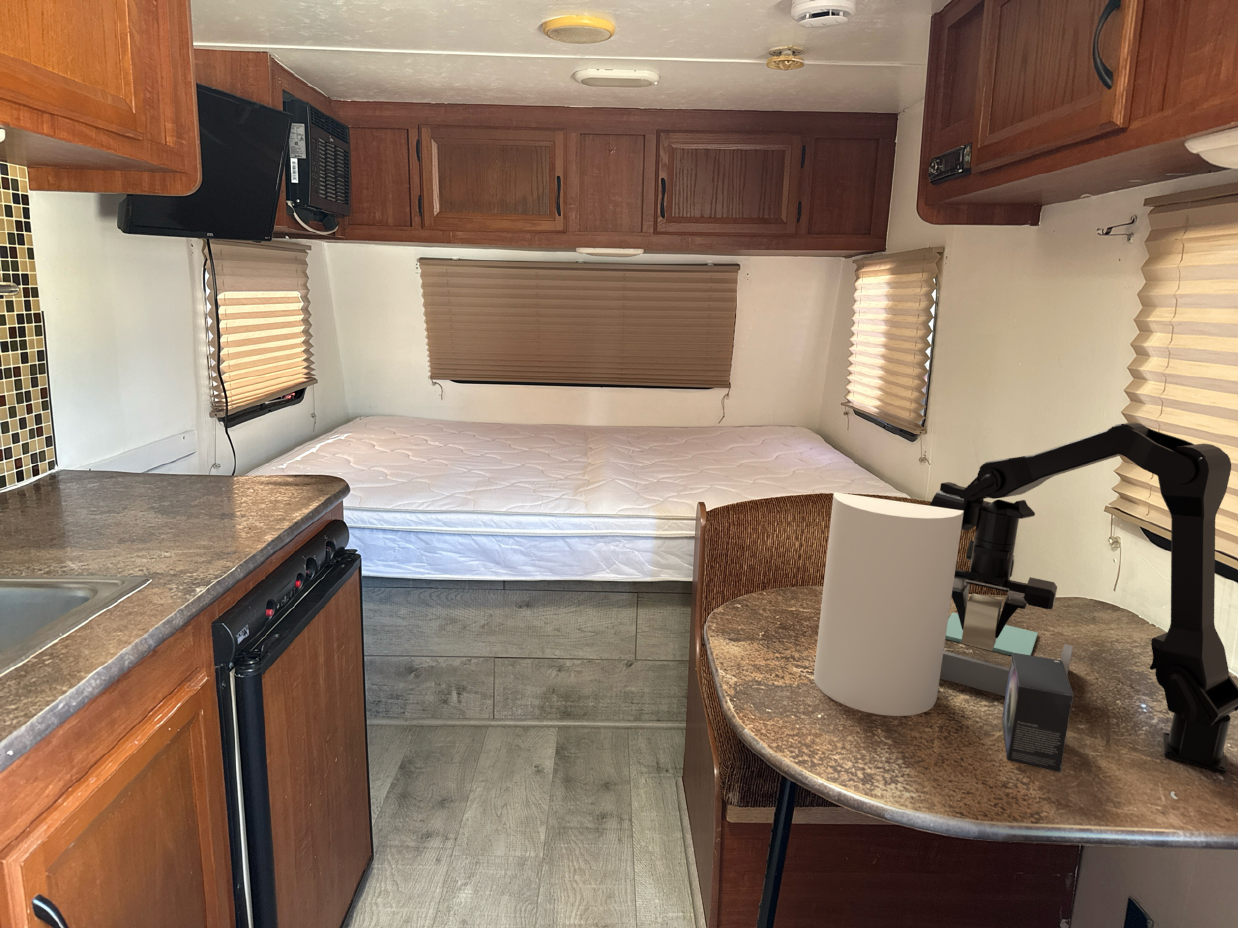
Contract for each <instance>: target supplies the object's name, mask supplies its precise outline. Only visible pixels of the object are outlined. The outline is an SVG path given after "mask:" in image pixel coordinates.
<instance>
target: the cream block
mask: <svg viewBox="0 0 1238 928" xmlns="http://www.w3.org/2000/svg"><path fill="white" fill-rule="evenodd" d="M1003 601H1004V600H1003V599H998V598H994V597H989V596H985V595H981V594H977V593H972V594H971V595H970V597H968V602H967V608H966V614H965V621H964V628H963V634H962V641H961V643H960V644H963V645H967V646H970V647H974V648H978V649H982V650H986V651H990V652H993V651H992V650H993V647H994V645H995V643H996V639H997V638H995V634H996V628H997V625H998V622H999V619H1000V615H1001V612H1002V609H1003Z"/></svg>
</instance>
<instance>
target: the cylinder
mask: <svg viewBox="0 0 1238 928" xmlns="http://www.w3.org/2000/svg"><path fill="white" fill-rule="evenodd" d="M831 505H832V507H831V515H830V523H829V525H830V526H829V533H828V543H827V550H826V562H825V569H824V570H825V571H824V577H823V578H824V580H823V586H822V587H823V588H822V597H821V607H820V616H819V625H818V636H817V644H816V653H815V662H814V670H813V680H814V683H815V685H816V687H817V688H818V689H819V690H820V691H821V692H822V693H823V694H825V695H826V696H828V697H829V698H830V699H832V700H833V701H835V702H837V703H839V704H842V705H844V706H846V707H849V708H851V709H854V710H855V709H856V710H858V711H862V712H865V713H870V714H875V715H881V716H892V717H894V716H895V717H904V716H905V717H907V716H914V715H915V716H916V715H918V714H922V713H925V712H927V711H929V710H930V709H932V708H933V707H934V706H935V704H936V703H937V698H938V693H939V685H940V680H941V678H940V672H941V665H942V658H943V651H945V643H946V639H945V638H946V631H947V624H948V619H949V617H950V609H951V604H952V597H951V596H952V589H953V582H954V575H955V569H957V568H956V567H957V561H958V553H959V549H960V548H959V546H960V539H961V534H962V533H961V532H962V530H961V527H962V520H963V513H964V511H962V510H955V509H948V508H941V507H934V506H929V505H925V504H920V503H919V504H918V503H913V502H906V501H898V500H892V499H885V498H878V497H871V496H864V495H857V494H856V495H855V494H851V493H844V492H835V491H834V493H833V497H832V504H831Z"/></svg>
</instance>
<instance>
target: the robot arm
mask: <svg viewBox="0 0 1238 928" xmlns="http://www.w3.org/2000/svg"><path fill="white" fill-rule="evenodd" d="M1121 456H1123V457H1125V458H1126V459H1128V461H1129V460H1130V461H1131V462H1132V463H1134V464H1135V465H1136V466H1138V467H1139V468H1141V469H1143V470H1145V471H1147V472H1149V473H1151V474H1153V475H1155V476H1157V480H1158V486H1159V492H1160V494H1161V497H1162V500H1163V501H1164V504H1165V506H1166V508H1167V510H1168V512H1169V514H1170V521H1171V525H1170V527H1171V529H1170V531H1171V533H1170V537H1171V538H1170V539H1171V541H1170V542H1171V543H1170V544H1171V545H1170V557H1171V559H1170V625H1169V628H1168V630H1167V632H1164V633H1161V634H1159V635H1157V636H1155V637H1152V638H1151V642H1150V643H1151V644H1150V645H1151V652H1152V662H1151V665H1150V666H1149V669H1150V670H1151V671H1154V670H1155V678H1156V682H1157V684H1158V686H1160V687H1161V688H1162V689H1163V690H1164V691H1163V692H1164V696H1165V701H1166V706H1167V710H1168V711H1169V712H1170V713H1173V717H1172V720H1171V721H1172V722H1171V724H1170V725H1171V726H1170V729H1169V730H1170V731H1169V732H1167V731H1166V732H1163V734H1162V745H1163V755H1164V757H1167V758H1170V759H1172V760H1176V761H1180V762H1184V763H1187V764H1190V765H1194V766H1197V767H1200V768H1204V769H1208V770H1211V771H1215V772H1218V773H1221V774H1227V772H1228V767H1227V766H1228V765H1227V762H1226V756H1225V752H1224V749H1225V746H1226V740H1227V738H1228V737H1227V736H1228V733H1229V727H1230V722H1231V719H1232V718H1231V716H1230V714H1232V713H1234V712H1237V711H1238V685H1237V684H1236V682H1235V681H1234V680H1233V679H1232V677H1231V676H1230V671H1229V666H1228V660H1227V655H1226V650H1225V646H1224V644H1223V642H1222V639H1221V638H1220V635H1219V633H1218V631H1217V630H1216V626H1215V597H1216V596H1215V587H1216V584H1215V581H1216V580H1215V576H1216V575H1215V574H1216V573H1215V572H1216V571H1215V569H1216V518H1217V513H1218V511H1219V509H1220V507H1221V505H1222V502H1223V500H1224V497H1225V495H1226V493H1227V490H1228V487H1229V486H1228V484H1229V481H1230V476H1231V471H1232V462H1231V458H1230V457H1229V455H1228V454H1227V453H1226V452H1225V451H1224V450H1222V448H1220V447H1219V446H1216V445H1215V444H1211V443H1210V444H1209V443H1205V442H1203V443H1198V444H1195V443H1193V442H1190V441H1189V440H1186V439H1184V438H1183V439H1182V438H1179V437H1176V436H1173V435H1170V434H1168V433H1164V432H1161V431H1157V430H1154V429H1152V428H1149V427H1147V426H1146V425H1144V424H1142V423H1139V422H1127V423H1119V424H1114V425H1113V426H1111V427H1110V428H1108V429H1105V430H1103V431H1099V432H1097V433H1093V434H1090V435H1087V436H1085V437H1082V438H1079V439H1076V440H1073V441H1070V442H1068V443H1064V444H1061V445H1058V446H1056V447H1055V446H1054V447H1053V448H1049V449H1046V450H1043V451H1041V452H1038V453H1035V454H1034V453H1033V454H1030V455H1023V456H1017V457H1016V456H1015V457H1008V458H1003V459H996V460H995V459H994V460H990V461H989V460H988V461H986V462H984V463H983V464H981V465H980V466H979V470H978V472H977V476H976V477H975V478H974V479H973V480H972V481H971V482H970V483H969V484H968V485H967V486H966V487H965V486H961V485H959V484H957V483H955V482H950V481H947V482H941V483H940V487H939V490H938V491H937V492H936V493H935V494H934V496H933V498H932V500H931V502H930V503H929V505H928V506H934V507H941V508H948V509H955V510H962V511H964V513H963V520H962V527H961V531H964V532H965V531H966V532H969V531H971V530H972V529H973V528H974V527H975V533H974V539H973V540H970V539H969V542H968V546H967V549H966V556H965V558H966V560H968V561H970V566H969V570H964V569H960V568H955V575H954V582H953V589H952V596H951V600H952V601H953V603H954V606H955V608H956V613H957V614H958V616H959V620H960V624H961V627H962V630H963V628H964V621H965V614H966V608H967V602H968V600H969V590H970V585H973V586H978V587H982V588H988V589H992V590H997V591H1001V592H1007V596H1006V598H1005V601H1004V603H1003V605H1002V608H1001V614H1000V619H999V622H998V625H997V628H996V634H995V638H998V637H999V635H1000V633H1001V632H1002V630H1003V628H1004V626H1005V625H1007V623H1008V622H1009V620H1010V619H1011V617H1013V615H1014V613H1016V611H1017V610H1018V609H1021V610H1025V609H1026V608H1027V606H1031V607H1035V608H1041V609H1044V610H1053V608H1054V604H1055V601H1056V597H1057V590H1058V586H1057V585H1056V583H1055V582H1054V581H1049V580H1045V579H1041V578H1035V577H1029V579H1028V581H1027V583H1026V582H1021V581H1017V580H1014V579H1013V580H1011V579H1010V578H1011V577H1012V576H1013V571H1014V565H1015V558H1014V557H1015V555H1014V552H1015V548H1016V547H1015V546H1016V539H1017V533H1018V526H1019V521H1020V520H1021V519H1028V518H1031V517H1035V515H1036V512H1035V511H1034V510H1033V509H1032V508H1031V507H1030V506H1029V505H1028V503H1027V500H1026V499H1021V500H1016V501H1015V502H1011V501H1007V500H1003V499H1004V498H1007V497H1016V496H1020V495H1023V494H1026V493H1028V492H1030V491H1032V490H1033V489H1035V488H1037V487H1039V486H1041V485H1042V484H1044V483H1045V482H1047V480H1049V479H1051V478H1054V477H1056V476H1059V475H1061V474H1065V473H1068V472H1071V471H1075V470H1078V469H1081V468H1085V467H1088V466H1090V465H1094V464H1098V463H1100V462H1103V461H1108V460H1111V459H1113V458H1116V457H1121ZM985 499H993V501H992V502H990V501H987V500H985ZM995 499H996V500H995Z"/></svg>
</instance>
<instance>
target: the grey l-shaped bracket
mask: <svg viewBox="0 0 1238 928" xmlns="http://www.w3.org/2000/svg"><path fill="white" fill-rule="evenodd" d="M1073 649H1074V645H1070V644H1066V643H1064V644H1063V647H1062V651H1061V656H1060V660H1062V661H1063V664H1064V667H1065V671H1066V674H1067V676H1068V674H1069V671H1070V670H1069V669H1070V664H1071V659H1072V653H1073ZM1009 669H1010V666H1009V667H1008V666H1004V665H1000V664H997V663H992V662H989V661H987V660H986V661H985V660H981V659H978V658H974V657H971V656H966V655H962V654H957V653H954V652H950V651H947V650H944V651H943V658H942V665H941V672H940V680H941V679H942V680H945V681H948V682H952V683H955V684H959V685H963V686H966V687H970V688H974V689H977V690H981V691H984V692H986V693H987V692H988V693H991V694H995V695H999V696H1003V697H1005V696H1006V689H1007V682H1008V675H1009Z"/></svg>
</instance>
